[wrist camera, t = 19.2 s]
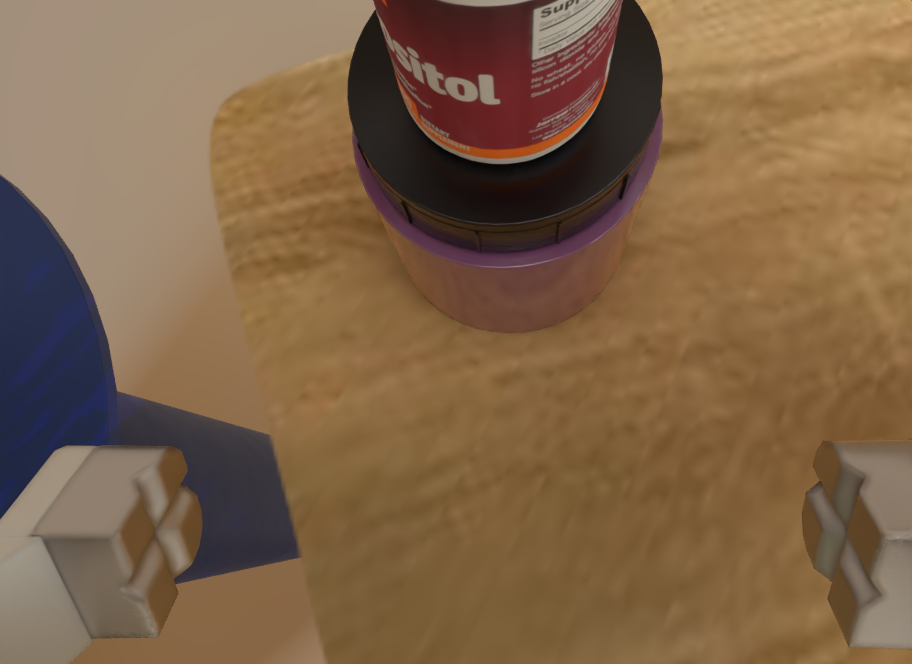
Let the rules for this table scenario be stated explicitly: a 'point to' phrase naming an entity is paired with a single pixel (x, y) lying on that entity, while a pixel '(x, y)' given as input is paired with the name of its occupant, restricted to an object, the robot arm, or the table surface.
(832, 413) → the table surface
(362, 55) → the jar lid
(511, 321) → the jar
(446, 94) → the pill bottle
